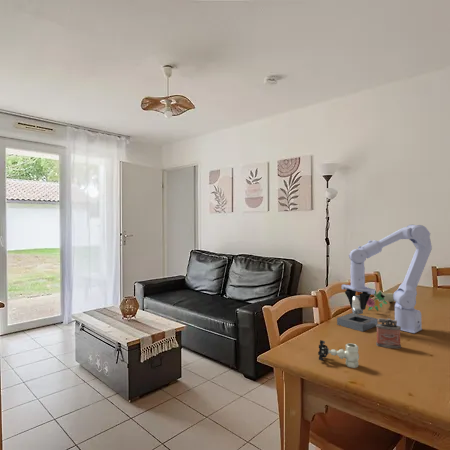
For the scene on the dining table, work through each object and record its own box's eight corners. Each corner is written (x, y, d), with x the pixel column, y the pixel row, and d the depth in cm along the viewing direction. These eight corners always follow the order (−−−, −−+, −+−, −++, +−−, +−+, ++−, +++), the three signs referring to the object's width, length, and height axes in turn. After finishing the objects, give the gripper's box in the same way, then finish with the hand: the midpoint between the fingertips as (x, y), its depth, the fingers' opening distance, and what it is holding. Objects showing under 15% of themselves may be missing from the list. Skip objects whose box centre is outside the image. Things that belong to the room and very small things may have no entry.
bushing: (364, 312, 141) (364, 296, 141) (360, 314, 138) (359, 298, 138) (355, 310, 144) (354, 294, 144) (350, 312, 141) (349, 296, 141)
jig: (377, 325, 142) (377, 318, 142) (362, 331, 134) (362, 324, 134) (352, 319, 151) (352, 312, 151) (337, 324, 144) (337, 317, 144)
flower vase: (396, 317, 178) (374, 317, 153) (374, 306, 187) (350, 305, 161) (404, 297, 177) (384, 294, 152) (382, 287, 186) (359, 283, 161)
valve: (360, 362, 106) (322, 356, 112) (360, 342, 106) (322, 337, 112) (357, 371, 100) (318, 363, 106) (357, 350, 100) (317, 343, 106)
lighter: (400, 345, 119) (399, 318, 119) (401, 349, 116) (401, 321, 116) (375, 343, 122) (375, 316, 122) (376, 346, 119) (376, 319, 119)
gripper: (337, 275, 144) (337, 306, 145) (368, 280, 133) (369, 313, 133) (346, 274, 149) (346, 303, 149) (377, 278, 137) (377, 310, 137)
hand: (357, 308), depth 141 cm, fingers closed on bushing, 4 cm apart
